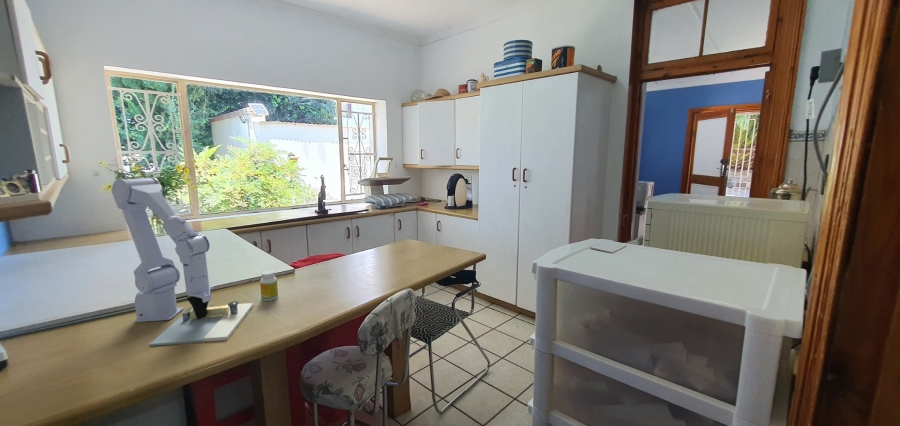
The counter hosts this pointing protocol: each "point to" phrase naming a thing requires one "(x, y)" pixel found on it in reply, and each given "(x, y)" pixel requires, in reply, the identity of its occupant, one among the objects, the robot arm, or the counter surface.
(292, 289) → the counter surface
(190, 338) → the door panel
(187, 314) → the keeper
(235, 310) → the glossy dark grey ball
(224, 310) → the swing bar
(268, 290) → the supplement bottle
